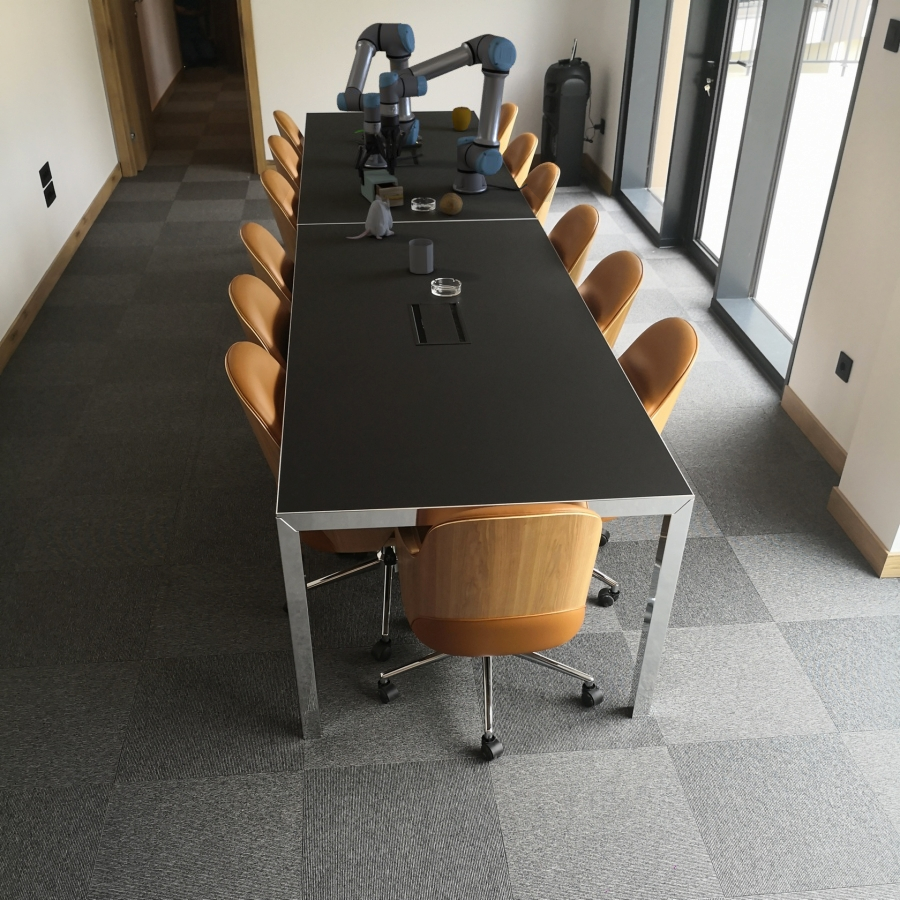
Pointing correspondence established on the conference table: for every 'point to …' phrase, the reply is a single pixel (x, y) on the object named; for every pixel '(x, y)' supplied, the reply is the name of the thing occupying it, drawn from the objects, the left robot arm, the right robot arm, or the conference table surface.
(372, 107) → the left robot arm
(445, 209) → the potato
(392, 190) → the drawer
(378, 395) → the conference table surface
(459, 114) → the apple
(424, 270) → the cup
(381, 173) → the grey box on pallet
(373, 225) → the toy
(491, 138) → the right robot arm
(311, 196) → the conference table surface
